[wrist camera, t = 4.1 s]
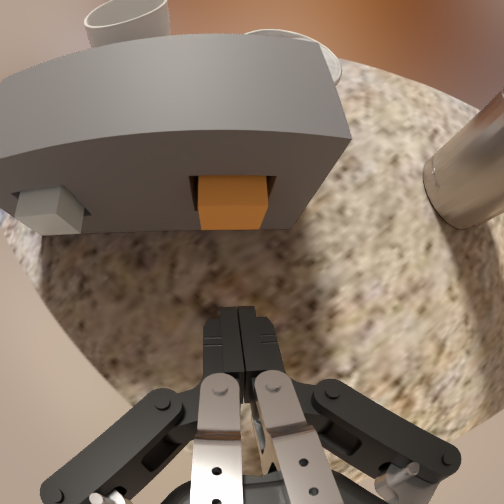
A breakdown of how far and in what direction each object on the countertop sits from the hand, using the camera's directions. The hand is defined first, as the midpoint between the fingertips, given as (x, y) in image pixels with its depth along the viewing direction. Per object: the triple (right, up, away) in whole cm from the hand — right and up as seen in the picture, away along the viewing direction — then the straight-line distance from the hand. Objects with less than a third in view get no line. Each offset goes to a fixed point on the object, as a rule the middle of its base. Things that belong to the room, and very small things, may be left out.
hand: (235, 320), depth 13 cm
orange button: (-1, +6, +6) cm, 8 cm away
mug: (-10, +20, +13) cm, 26 cm away
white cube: (-13, +6, +4) cm, 15 cm away
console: (-7, +9, +10) cm, 15 cm away
